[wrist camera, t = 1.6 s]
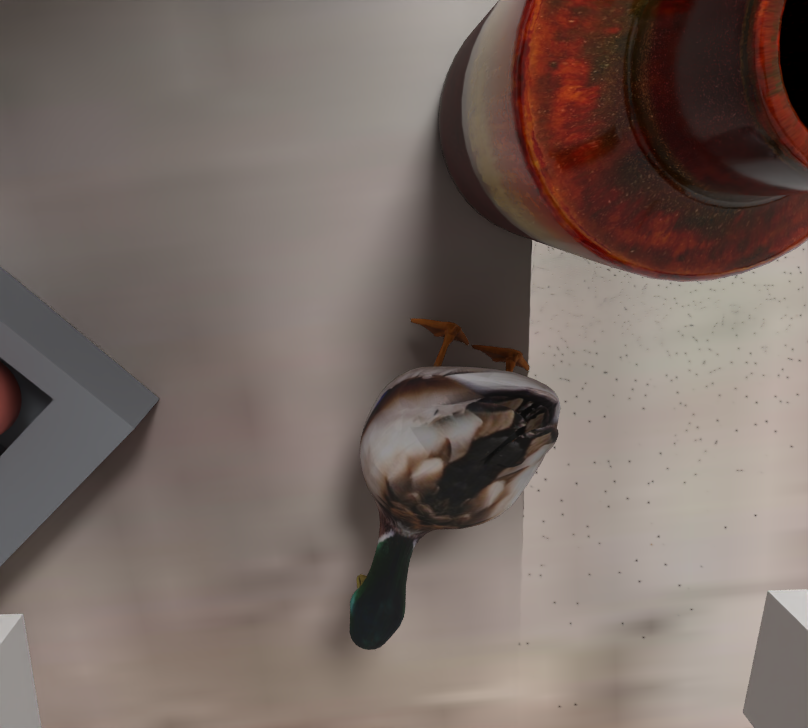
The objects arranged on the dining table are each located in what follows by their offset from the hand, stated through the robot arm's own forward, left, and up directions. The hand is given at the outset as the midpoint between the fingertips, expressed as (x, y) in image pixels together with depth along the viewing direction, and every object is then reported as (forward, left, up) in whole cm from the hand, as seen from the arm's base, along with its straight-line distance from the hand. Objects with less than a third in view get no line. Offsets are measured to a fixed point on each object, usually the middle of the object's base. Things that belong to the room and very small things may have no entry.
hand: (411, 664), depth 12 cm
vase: (-2, +14, -22) cm, 26 cm away
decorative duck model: (+6, -4, -22) cm, 23 cm away
